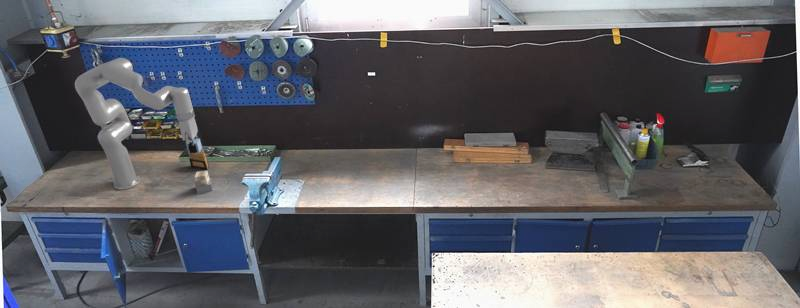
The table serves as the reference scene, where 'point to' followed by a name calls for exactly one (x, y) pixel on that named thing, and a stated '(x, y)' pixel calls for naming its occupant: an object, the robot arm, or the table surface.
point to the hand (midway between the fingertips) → (195, 149)
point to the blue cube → (197, 144)
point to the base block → (204, 187)
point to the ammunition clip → (199, 160)
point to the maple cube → (202, 178)
